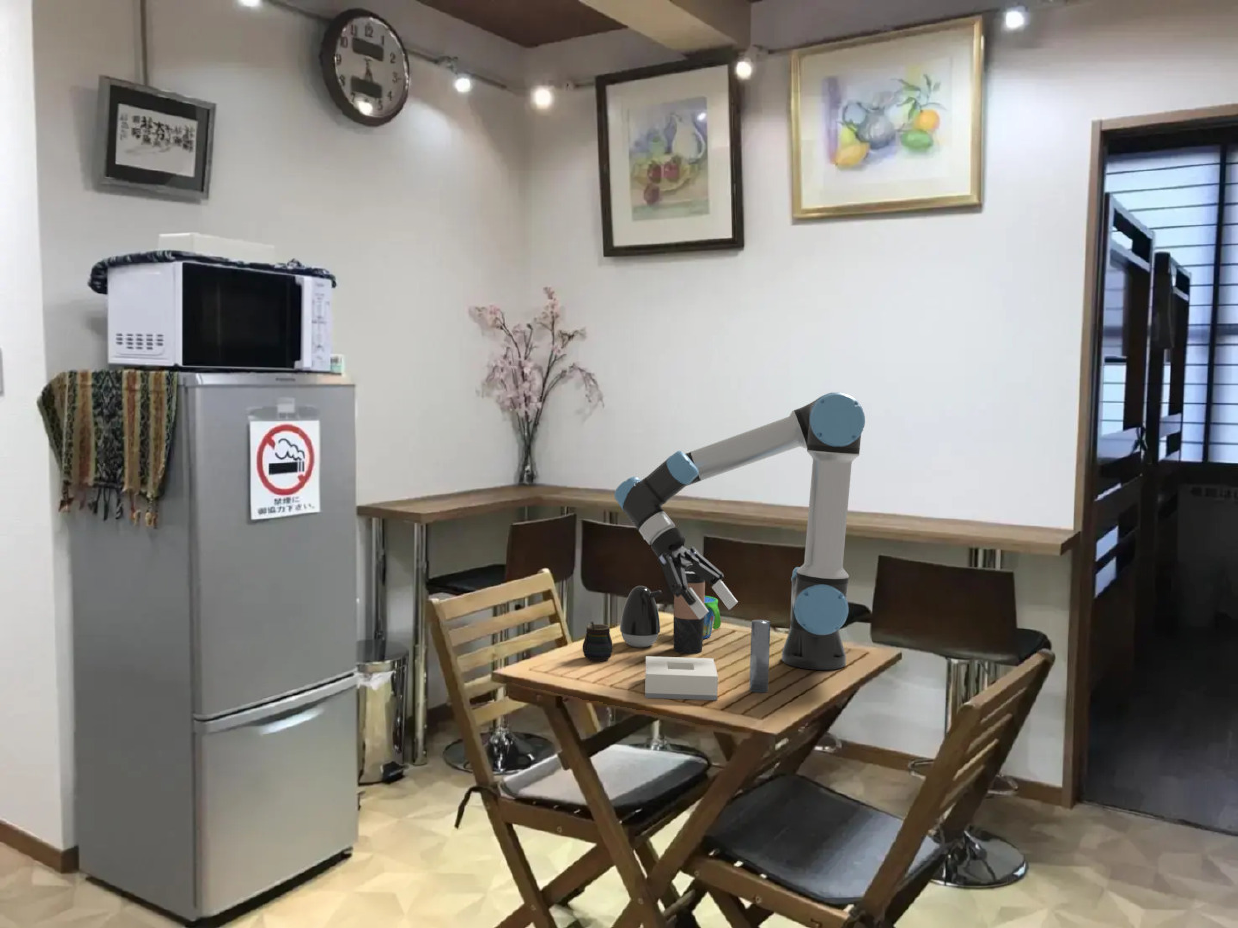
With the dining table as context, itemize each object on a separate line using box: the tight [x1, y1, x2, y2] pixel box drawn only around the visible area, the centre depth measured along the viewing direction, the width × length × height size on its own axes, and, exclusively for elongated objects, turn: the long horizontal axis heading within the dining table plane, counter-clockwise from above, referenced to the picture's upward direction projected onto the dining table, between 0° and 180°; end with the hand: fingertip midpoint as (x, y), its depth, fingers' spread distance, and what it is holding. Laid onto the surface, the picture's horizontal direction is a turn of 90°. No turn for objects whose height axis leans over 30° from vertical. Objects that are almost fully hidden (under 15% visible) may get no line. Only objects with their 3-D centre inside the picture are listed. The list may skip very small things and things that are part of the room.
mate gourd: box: [582, 621, 614, 662], centre depth 239 cm, size 7×8×10 cm
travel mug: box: [673, 570, 706, 655], centre depth 250 cm, size 8×8×20 cm
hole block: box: [644, 655, 719, 701], centre depth 215 cm, size 15×15×5 cm
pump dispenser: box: [619, 585, 662, 648], centre depth 254 cm, size 10×10×15 cm
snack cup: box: [703, 595, 722, 640], centre depth 266 cm, size 16×10×10 cm
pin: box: [748, 619, 771, 694], centre depth 216 cm, size 4×4×15 cm
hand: (719, 610), depth 221 cm, fingers open, 13 cm apart
